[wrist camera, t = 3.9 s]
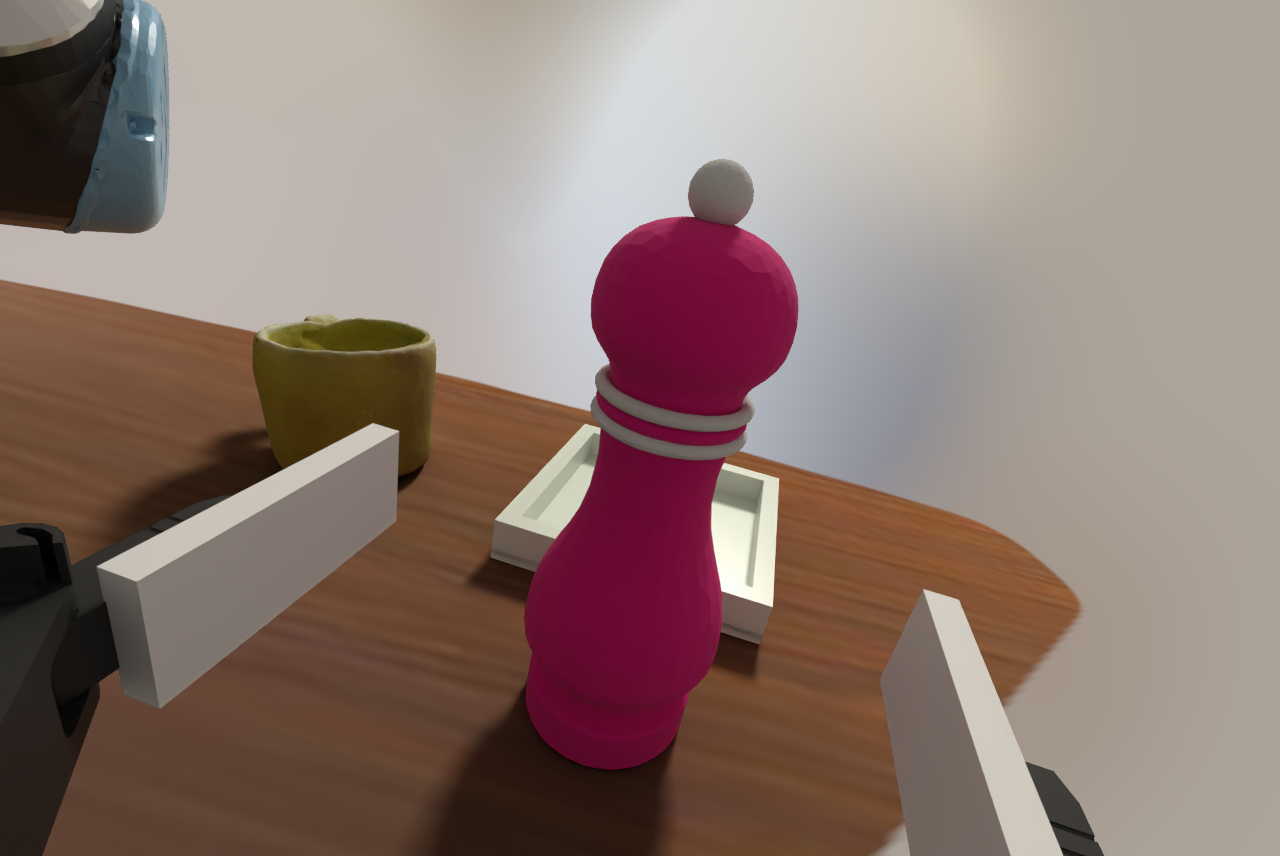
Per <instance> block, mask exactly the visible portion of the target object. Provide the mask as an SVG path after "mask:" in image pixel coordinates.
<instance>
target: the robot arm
mask: <svg viewBox="0 0 1280 856" xmlns="http://www.w3.org/2000/svg"><path fill="white" fill-rule="evenodd" d="M168 80H169V78H168V54H167V41H166V33H165V27H164V23H163V21H162V18H161V14H160V13H159V12H158V11H157V10H156V9H155V8H154V7H153V6H152V5H151V4H149V3H147V2H145V1H142V0H0V224H5V225H14V226H23V227H32V228H41V229H49V230H58V231H63V232H65V233H71V234H75V233H78V232H80V231H96V232H113V233H141V232H144V231H147V230H149V229H151V228H152V227H154V226H155V225H156V224H157V223H158V222H159V220H160V219H161V217H162V215H163V212H164V208H165V201H166V191H167V178H168V155H169V154H168V153H169V81H168ZM398 455H399V431H397V430H394V429H390V428H387V427H384V426H381V425H377V424H374V423H372V424H370V425H369V426H367V427H365V428H363V429H361V430H359V431H357V432H355V433H353V434H351V435H349V436H347V437H345V438H343V439H342V440H340V441H338V442H336V443H334V444H332V445H330V446H328V447H326V448H324V449H322V450H320V451H318V452H316V453H315V454H313V455H311V456H309V457H307V458H305V459H303V460H301V461H299V462H297V463H295V464H293V465H291V466H290V467H288V468H286V469H284V470H282V471H280V472H278V473H276V474H274V475H272V476H270V477H268V478H266V479H264V480H263V481H261V482H259V483H257V484H255V485H253V486H251V487H249V488H247V489H245V490H243V491H241V492H239V493H237V494H236V495H234V496H232V497H231V496H228V495H224V496H220V497H217V498H213V499H209V500H206V501H202V502H198V503H195V504H193V505H191V506H189V507H187V508H185V509H183V510H181V511H179V512H177V513H175V514H173V515H171V517H170V518H169V519H166V518H165V519H163V520H161V521H159V522H157V523H155V524H153V525H151V526H150V527H149V529H148V530H146V529H143V530H141V531H139V532H137V533H135V534H133V535H131V536H129V537H127V538H125V539H123V540H121V541H119V542H117V543H115V544H113V545H111V546H109V547H107V548H105V549H103V550H101V551H99V552H97V553H95V554H93V555H91V556H89V557H87V558H85V559H83V560H81V561H79V562H77V563H75V564H73V565H71V562H70V558H69V554H68V549H67V545H66V541H65V537H64V533H63V532H61V531H60V530H59V529H58V528H57V527H54V526H50V525H47V524H43V523H19V524H12V525H5V526H0V856H42V854H43V852H44V849H45V846H46V843H47V841H48V838H49V835H50V833H51V830H52V827H53V824H54V822H55V819H56V816H57V813H58V811H59V808H60V805H61V802H62V800H63V797H64V794H65V792H66V789H67V786H68V783H69V781H70V778H71V775H72V772H73V770H74V767H75V764H76V761H77V759H78V756H79V753H80V751H81V748H82V745H83V742H84V740H85V737H86V734H87V731H88V729H89V726H90V723H91V720H92V718H93V715H94V712H95V710H96V707H97V704H98V701H99V698H100V687H99V682H100V681H101V680H102V679H104V678H105V677H107V676H108V675H110V674H111V673H113V672H114V671H116V670H117V669H118V670H119V675H120V680H121V684H122V689H123V694H125V695H127V696H130V697H132V698H135V699H137V700H140V701H142V702H144V703H147V704H149V705H152V706H154V707H157V708H159V709H160V708H162V707H163V706H164V705H165V704H167V703H168V702H169V701H170V700H172V699H173V698H174V697H175V696H177V695H178V694H179V693H180V692H182V691H183V690H184V689H185V688H187V687H188V686H189V685H190V684H192V683H193V682H194V681H196V680H197V679H198V678H199V677H201V676H202V675H203V674H204V673H206V672H207V671H208V670H209V669H211V668H212V667H213V666H214V665H216V664H217V663H218V662H219V661H221V660H222V659H223V658H225V657H226V656H227V655H228V654H230V653H231V652H232V651H233V650H235V649H236V648H237V647H238V646H240V645H241V644H242V643H243V642H245V641H246V640H247V639H248V638H250V637H251V636H252V635H253V634H255V633H256V632H257V631H259V630H260V629H261V628H262V627H264V626H265V625H266V624H267V623H269V622H270V621H271V620H272V619H274V618H275V617H276V616H277V615H279V614H280V613H281V612H282V611H284V610H285V609H286V608H287V607H289V606H290V605H291V604H293V603H294V602H295V601H296V600H298V599H299V598H300V597H301V596H303V595H304V594H305V593H306V592H308V591H309V590H310V589H311V588H313V587H314V586H315V585H316V584H318V583H319V582H320V581H322V580H323V579H324V578H325V577H327V576H328V575H329V574H330V573H332V572H333V571H334V570H335V569H337V568H338V567H339V566H340V565H342V564H343V563H344V562H345V561H347V560H348V559H349V558H350V557H352V556H353V555H354V554H356V553H357V552H358V551H359V550H361V549H362V548H363V547H364V546H366V545H367V544H368V543H369V542H371V541H372V540H373V539H374V538H376V537H377V536H378V535H379V534H381V533H382V532H383V531H384V530H386V529H387V528H388V527H390V526H391V525H392V524H393V523H395V522H396V514H397V485H398ZM880 683H881V689H882V695H883V700H884V706H885V712H886V718H887V723H888V729H889V735H890V741H891V746H892V752H893V758H894V763H895V769H896V775H897V781H898V786H899V792H900V798H901V803H902V809H903V815H904V821H905V826H906V832H907V838H908V843H909V849H910V855H911V856H1104V855H1103V853H1102V850H1101V848H1100V846H1099V844H1098V843H1097V842H1095V841H1094V833H1093V832H1092V829H1091V827H1090V825H1089V823H1088V821H1087V819H1086V816H1085V814H1084V812H1083V810H1082V808H1081V806H1080V804H1079V802H1078V801H1077V800H1076V799H1075V797H1074V796H1073V795H1072V794H1071V793H1070V791H1069V790H1068V789H1067V788H1066V786H1065V785H1064V784H1063V783H1062V781H1061V780H1060V779H1059V778H1058V776H1057V775H1056V774H1055V773H1054V771H1051V770H1048V769H1045V768H1042V767H1040V766H1037V765H1033V764H1031V763H1028V762H1025V761H1024V758H1023V756H1022V754H1021V751H1020V749H1019V746H1018V744H1017V741H1016V739H1015V737H1014V734H1013V732H1012V729H1011V727H1010V725H1009V722H1008V719H1007V717H1006V714H1005V712H1004V709H1003V707H1002V705H1001V702H1000V700H999V697H998V695H997V692H996V690H995V687H994V685H993V683H992V680H991V678H990V675H989V673H988V670H987V668H986V665H985V663H984V661H983V658H982V656H981V653H980V651H979V648H978V646H977V643H976V641H975V639H974V636H973V634H972V631H971V629H970V626H969V624H968V621H967V619H966V617H965V614H964V612H963V609H962V607H961V604H960V602H959V600H958V599H954V598H951V597H948V596H944V595H941V594H938V593H934V592H931V591H928V590H924V589H923V591H922V593H921V595H920V597H919V599H918V601H917V603H916V605H915V607H914V609H913V611H912V614H911V616H910V618H909V620H908V622H907V624H906V626H905V628H904V630H903V632H902V634H901V637H900V639H899V641H898V643H897V645H896V647H895V649H894V651H893V653H892V655H891V657H890V659H889V662H888V664H887V666H886V668H885V670H884V672H883V674H882V676H881V678H880Z"/></svg>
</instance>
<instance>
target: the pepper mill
mask: <svg viewBox="0 0 1280 856" xmlns="http://www.w3.org/2000/svg"><path fill="white" fill-rule="evenodd" d="M753 193H754V189H753V184H752V179H751V177H750V176H749V174H748V173H747V171H746V170H745V169H744V167H742V166H741V165H740V164H738V163H736V162H734V161H732V160H726V159H718V160H714V161H710V162H709V163H707V164H705V165H703V166H702V167H701V168H700V169H699V170H698V171H697V172H696V174H695V175H694V177H693V178H692V180H691V182H690V186H689V193H688V200H689V206H690V208H691V210H692V212H693V214H694V216H695V217H673V218H666V219H660V220H656V221H653V222H650V223H647V224H644V225H641V226H639V227H638V228H636V229H634V230H632V231H631V232H629V233H628V234H627V235H625V236H624V237H623V238H622V239H621V240H620V241H619V242H618V243H617V244H616V245H615V246H614V247H613V248H612V250H611V251H610V252H609V254H608V255H607V257H606V258H605V259H604V262H603V264H602V267H601V269H600V271H599V274H598V276H597V279H596V281H595V286H594V290H593V294H592V299H591V320H592V328H593V330H594V333H595V335H596V337H597V340H598V342H599V343H600V345H601V347H602V348H603V350H604V352H605V353H606V355H607V357H608V359H609V361H610V364H607V365H606V366H604V367H602V368H601V370H600V371H599V372H598V373H597V374H596V377H595V384H596V387H597V393H596V396H595V397H594V398H593V400H592V403H591V414H592V417H593V418H594V420H595V421H596V422H597V424H598V425H599V427H601V430H600V440H599V450H598V456H597V460H596V463H595V467H594V471H593V475H592V478H591V482H590V486H589V488H588V490H587V492H586V494H585V496H584V499H583V501H582V503H581V505H580V507H579V509H578V510H577V512H576V513H575V515H574V516H573V517H572V519H571V520H570V522H569V523H568V524H567V525H566V526H565V527H564V529H563V530H562V531H561V532H560V533H559V535H558V536H557V537H556V539H555V540H554V541H553V543H552V544H551V545H550V547H549V548H548V550H547V551H546V553H545V554H544V556H543V558H542V560H541V562H540V564H539V566H538V568H537V570H536V572H535V573H534V576H533V579H532V582H531V586H530V590H529V594H528V598H527V602H526V606H525V616H524V621H525V633H526V637H527V640H528V643H529V646H530V648H531V650H532V656H531V661H530V667H529V673H528V679H527V686H526V705H527V710H528V713H529V716H530V719H531V722H532V724H533V725H534V727H535V729H536V730H537V732H538V733H539V734H540V736H541V737H542V738H543V740H544V741H545V742H546V743H547V744H548V745H549V746H551V747H552V748H553V749H555V750H556V751H557V752H558V753H560V754H561V755H562V756H564V757H566V758H568V759H570V760H573V761H575V762H577V763H579V764H581V765H583V766H587V767H592V768H599V769H607V770H615V769H623V768H630V767H635V766H638V765H640V764H643V763H645V762H647V761H649V760H651V759H653V758H655V757H656V756H657V755H659V754H660V753H662V752H663V751H664V750H665V749H666V748H667V747H668V746H669V744H670V743H671V741H672V740H673V739H674V737H675V735H676V733H677V731H678V728H679V725H680V722H681V719H682V715H683V712H684V709H685V706H686V703H687V699H688V695H689V691H690V690H692V689H693V688H694V687H695V686H696V685H697V684H698V683H699V682H700V681H701V680H702V679H703V678H704V676H705V675H706V674H707V672H708V670H709V669H710V667H711V665H712V663H713V661H714V659H715V655H716V652H717V648H718V643H719V638H720V633H721V628H722V591H721V583H720V578H719V573H718V568H717V563H716V557H715V552H714V545H713V538H712V531H711V516H712V501H713V496H714V492H715V488H716V483H717V479H718V476H719V473H720V471H721V468H722V466H723V463H724V461H725V458H726V457H727V456H730V455H733V454H735V453H736V452H738V451H739V450H740V449H741V448H742V447H743V446H744V444H745V443H746V439H747V434H746V425H747V423H748V422H750V420H751V419H752V417H753V415H754V405H753V403H752V401H751V399H750V398H749V397H748V396H747V394H748V392H749V391H750V390H751V389H753V388H754V387H756V386H757V385H759V384H760V383H762V382H764V381H765V380H767V379H768V378H769V377H770V376H771V375H773V374H774V373H775V372H776V371H777V370H778V369H779V368H780V366H781V365H782V364H783V363H784V361H785V360H786V358H787V355H788V353H789V351H790V349H791V346H792V344H793V340H794V336H795V332H796V328H797V320H798V296H797V291H796V286H795V283H794V280H793V277H792V275H791V272H790V270H789V268H788V267H787V265H786V264H785V262H784V261H783V259H782V258H781V256H780V255H779V254H778V253H777V252H776V251H775V250H774V249H773V248H772V247H771V246H770V245H769V244H767V243H766V242H764V241H763V240H761V239H760V238H758V237H757V236H755V235H754V234H752V233H750V232H747V231H745V230H743V229H741V228H739V227H737V226H735V224H737V223H738V222H739V221H741V220H742V219H743V218H744V217H745V216H746V214H747V213H748V211H749V209H750V207H751V204H752V202H753Z"/></svg>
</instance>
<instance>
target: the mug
mask: <svg viewBox="0 0 1280 856" xmlns="http://www.w3.org/2000/svg"><path fill="white" fill-rule="evenodd" d="M435 370H436V347H435V342H434V339H433V338H432V337H431V335H430V334H429V333H428V331H426V330H424V329H421V328H418V327H414V326H411V325H409V324H405V323H401V322H396V321H390V320H377V319H364V318H356V319H345V320H339V319H338V318H337V317H335V316H333V315H319V316H309V317H307V318H306V319H305V320H304V321H302V322H297V323H286V324H280V325H278V324H275V325H272V326H268V327H265V328H264V329H262V330H260V331H259V332H258V333H257V334H256V335H255V337H254V342H253V372H254V377H255V381H256V385H257V389H258V393H259V397H260V401H261V405H262V409H263V414H264V418H265V423H266V427H267V432H268V436H269V440H270V444H271V447H272V450H273V453H274V455H275V457H276V460H277V462H278V464H279V465H280V466H281V467H282V468H283V469H286V468H288V467H290V466H291V465H293V464H295V463H297V462H299V461H301V460H303V459H305V458H307V457H309V456H311V455H313V454H315V453H316V452H318V451H320V450H322V449H324V448H326V447H328V446H330V445H332V444H334V443H336V442H338V441H340V440H342V439H343V438H345V437H347V436H349V435H351V434H353V433H355V432H357V431H359V430H361V429H363V428H365V427H367V426H369V425H370V424H372V423H374V424H377V425H381V426H384V427H387V428H390V429H394V430H397V431H399V455H398V476H402V475H406V474H408V473H411V472H413V471H415V470H416V469H417V468H419V467H420V466H422V465H423V464H425V463H426V462H427V460H428V458H429V456H430V453H431V449H432V442H433V437H432V425H431V422H432V410H433V397H434V384H435Z"/></svg>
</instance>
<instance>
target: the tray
mask: <svg viewBox="0 0 1280 856" xmlns="http://www.w3.org/2000/svg"><path fill="white" fill-rule="evenodd" d="M600 430H601V428H598V427H594V426H590V425H587V424H584V426H583V427H582V428H581V429H580V430H579V431H578V432H577V433H576V434H575V435H574V436H573V437H572V438H571V439H570V440H569V441H568V443H567V444H566V445H565V446H564V447H563V448H562V449H561V450H560V451H559V452H558V453H557V454H556V455H555V456H554V457H553V458H552V460H551V461H550V462H549V463H548V464H547V465H546V466H545V467H544V468H543V469H542V470H541V471H540V472H539V473H538V474H537V475H536V477H535V478H534V479H533V480H532V481H531V482H530V483H529V484H528V485H527V486H526V487H525V488H524V489H523V490H522V491H521V492H520V494H519V495H518V496H517V497H516V498H515V499H514V500H513V501H512V502H511V503H510V504H509V505H508V506H507V507H506V508H505V509H504V511H503V512H502V513H501V514H500V515H499V516H498V517H497V518H496V519H495V522H494V531H493V540H492V549H491V558H494V559H497V560H500V561H503V562H506V563H509V564H512V565H515V566H518V567H521V568H524V569H528V570H531V571H534V572H536V570H537V568H538V566H539V564H540V562H541V560H542V558H543V556H544V554H545V553H546V551H547V550H548V548H549V547H550V545H551V544H552V543H553V541H554V540H555V539H556V537H557V536H558V535H559V533H560V532H561V531H562V530H563V529H564V527H565V526H566V525H567V524H568V523H569V522H570V520H571V519H572V517H573V516H574V515H575V513H576V512H577V510H578V509H579V507H580V505H581V503H582V501H583V499H584V496H585V494H586V492H587V490H588V488H589V486H590V482H591V478H592V475H593V471H594V467H595V463H596V460H597V456H598V450H599V440H600ZM778 490H779V478H775V477H772V476H768V475H765V474H761V473H758V472H754V471H751V470H747V469H743V468H740V467H736V466H733V465H729V464H726V463H723V466H722V468H721V471H720V473H719V476H718V479H717V483H716V488H715V492H714V496H713V501H712V516H711V531H712V538H713V545H714V552H715V557H716V563H717V568H718V573H719V578H720V583H721V591H722V628H721V632H722V633H725V634H728V635H731V636H734V637H737V638H740V639H743V640H746V641H750V642H753V643H756V644H760V641H761V638H762V635H763V633H764V630H765V627H766V624H767V621H768V619H769V616H770V613H771V610H772V607H773V590H774V570H775V550H776V530H777V510H778Z"/></svg>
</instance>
